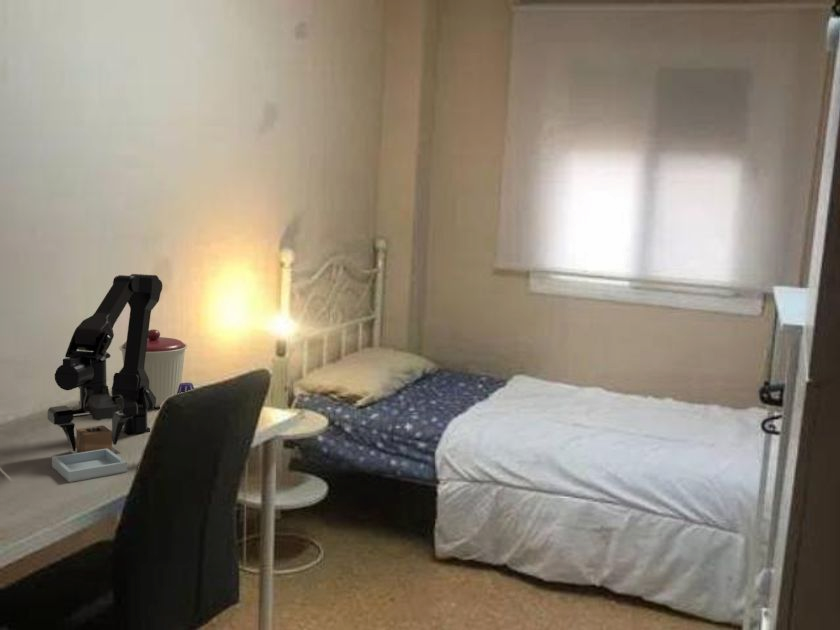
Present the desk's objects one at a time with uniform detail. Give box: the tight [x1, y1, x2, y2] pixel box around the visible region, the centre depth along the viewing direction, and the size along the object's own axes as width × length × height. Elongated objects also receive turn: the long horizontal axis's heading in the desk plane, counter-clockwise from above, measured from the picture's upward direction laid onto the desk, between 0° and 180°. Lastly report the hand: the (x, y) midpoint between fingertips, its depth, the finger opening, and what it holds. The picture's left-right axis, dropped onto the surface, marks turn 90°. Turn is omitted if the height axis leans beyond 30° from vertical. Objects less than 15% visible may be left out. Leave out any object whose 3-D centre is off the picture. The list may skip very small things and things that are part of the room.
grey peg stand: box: [67, 426, 121, 455], centre depth 202 cm, size 9×9×6 cm
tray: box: [51, 448, 128, 483], centre depth 190 cm, size 12×12×2 cm
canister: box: [118, 329, 188, 409], centre depth 247 cm, size 18×18×21 cm
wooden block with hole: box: [75, 424, 113, 453], centre depth 203 cm, size 8×6×5 cm
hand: (94, 447), depth 203 cm, fingers open, 9 cm apart
